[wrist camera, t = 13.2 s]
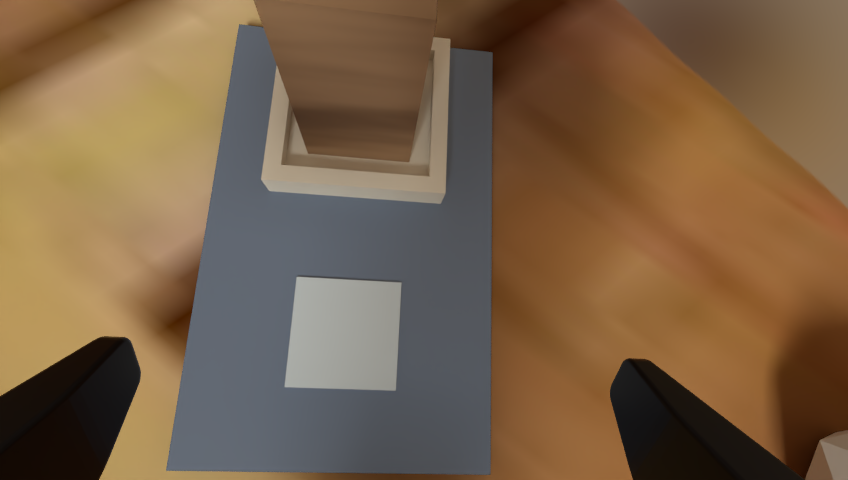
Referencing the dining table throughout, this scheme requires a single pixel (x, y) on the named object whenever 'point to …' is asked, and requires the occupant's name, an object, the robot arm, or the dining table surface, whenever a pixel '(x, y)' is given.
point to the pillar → (353, 71)
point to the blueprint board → (343, 289)
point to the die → (830, 458)
